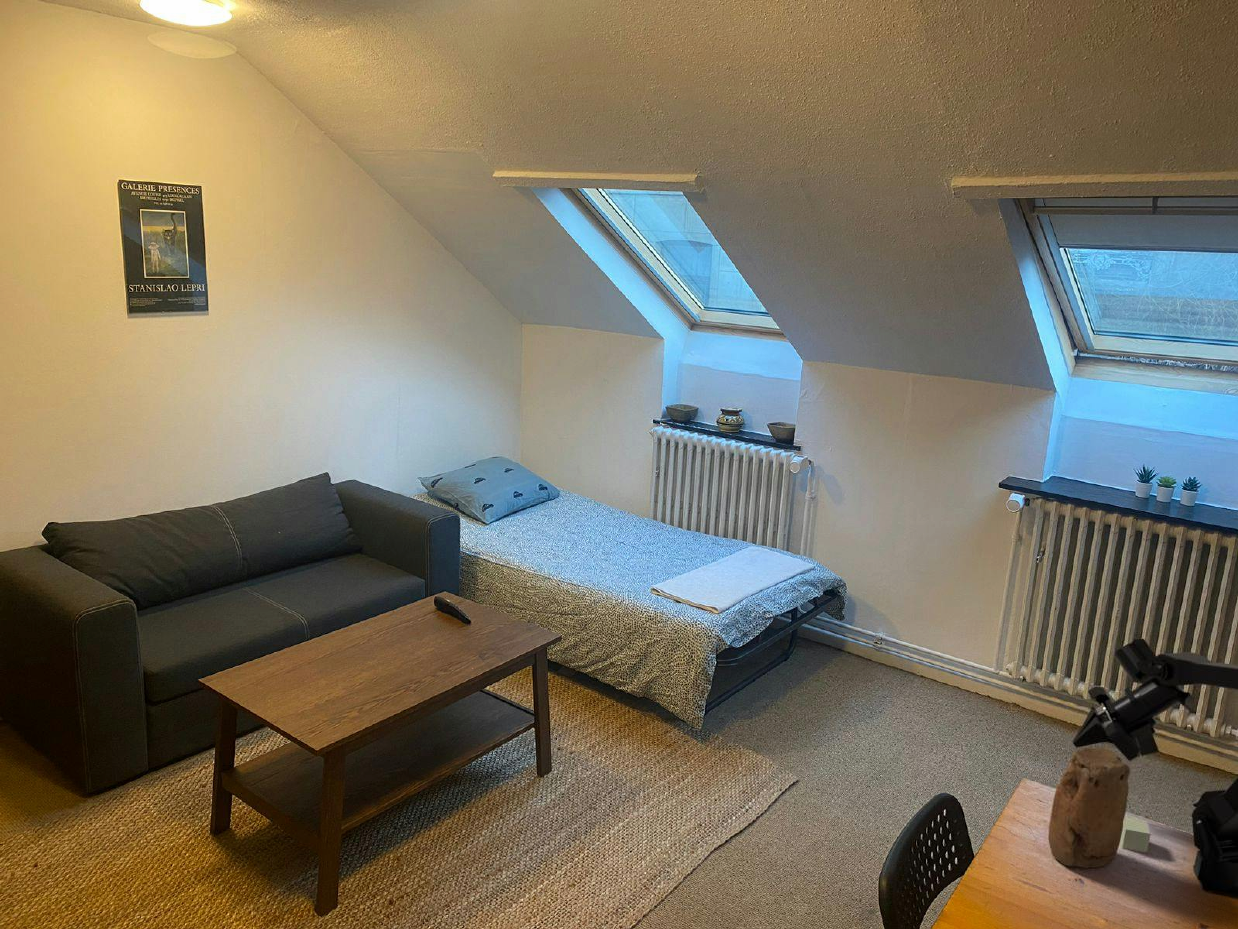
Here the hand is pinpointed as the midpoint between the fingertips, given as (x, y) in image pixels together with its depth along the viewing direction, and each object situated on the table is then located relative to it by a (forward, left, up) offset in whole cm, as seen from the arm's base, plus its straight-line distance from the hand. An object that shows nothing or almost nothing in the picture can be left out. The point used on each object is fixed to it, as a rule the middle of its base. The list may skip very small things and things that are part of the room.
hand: (1074, 744), depth 177 cm
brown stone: (0, +18, -13) cm, 22 cm away
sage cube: (-10, +10, -12) cm, 19 cm away
